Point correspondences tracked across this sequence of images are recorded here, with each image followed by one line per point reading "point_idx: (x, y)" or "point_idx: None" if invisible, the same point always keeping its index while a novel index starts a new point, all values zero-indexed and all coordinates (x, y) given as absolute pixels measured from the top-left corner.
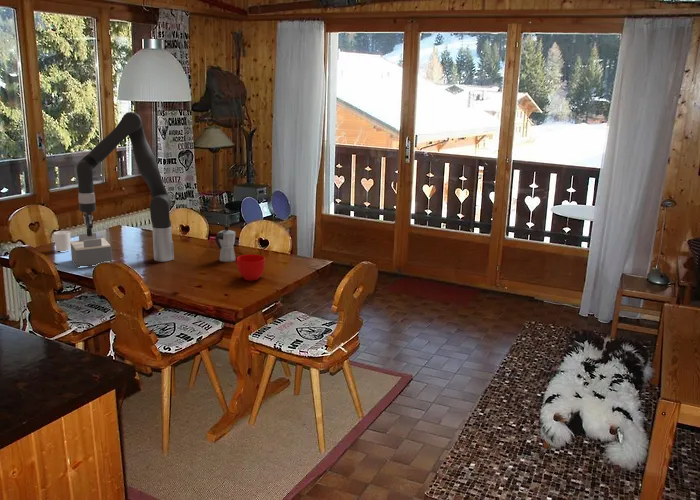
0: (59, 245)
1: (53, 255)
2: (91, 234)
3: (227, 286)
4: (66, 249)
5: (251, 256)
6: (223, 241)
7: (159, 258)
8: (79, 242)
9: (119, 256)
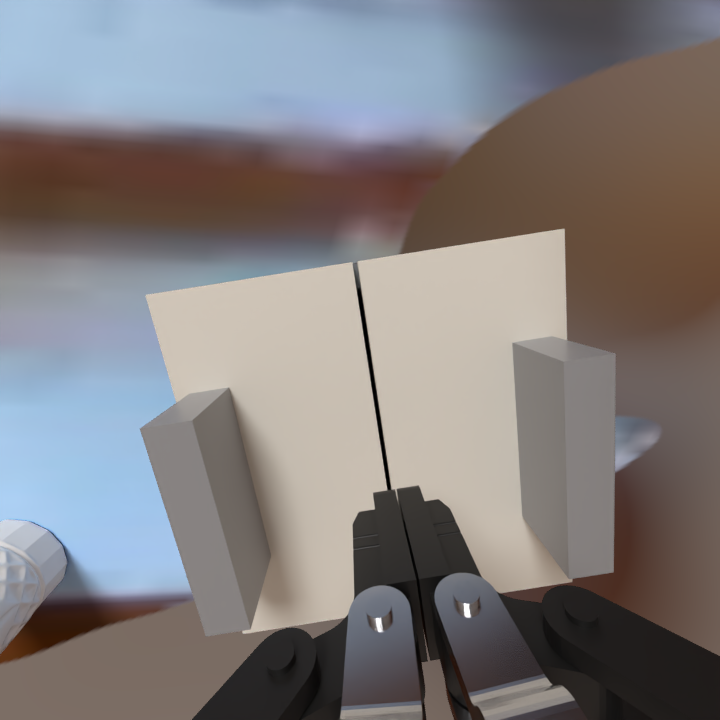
0: (25, 621)
1: (135, 604)
2: (424, 502)
3: None
4: (42, 552)
5: None
6: None
7: None
8: (320, 556)
9: (254, 174)
